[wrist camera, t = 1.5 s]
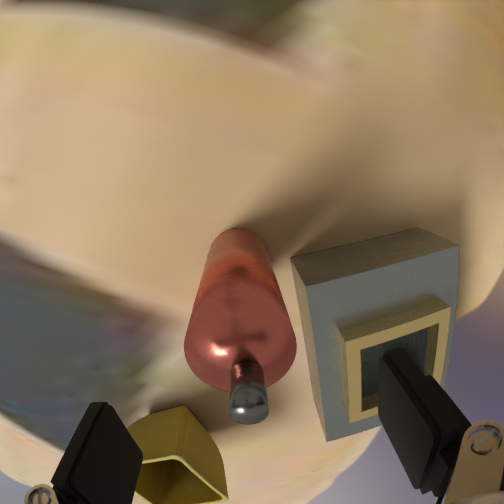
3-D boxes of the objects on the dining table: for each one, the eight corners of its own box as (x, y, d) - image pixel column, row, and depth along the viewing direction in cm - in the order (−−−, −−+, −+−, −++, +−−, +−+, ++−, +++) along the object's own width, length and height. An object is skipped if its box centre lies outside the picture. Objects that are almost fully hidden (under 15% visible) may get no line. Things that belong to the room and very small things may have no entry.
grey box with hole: (289, 257, 25) (310, 296, 18) (418, 227, 25) (471, 251, 18) (313, 400, 29) (330, 453, 22) (416, 367, 29) (448, 410, 22)
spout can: (202, 235, 24) (155, 347, 9) (260, 222, 24) (298, 319, 9) (217, 289, 25) (198, 437, 11) (272, 277, 25) (314, 417, 11)
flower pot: (123, 405, 29) (100, 466, 20) (189, 385, 28) (178, 456, 20) (167, 451, 31) (156, 509, 23) (230, 436, 31) (230, 500, 22)
